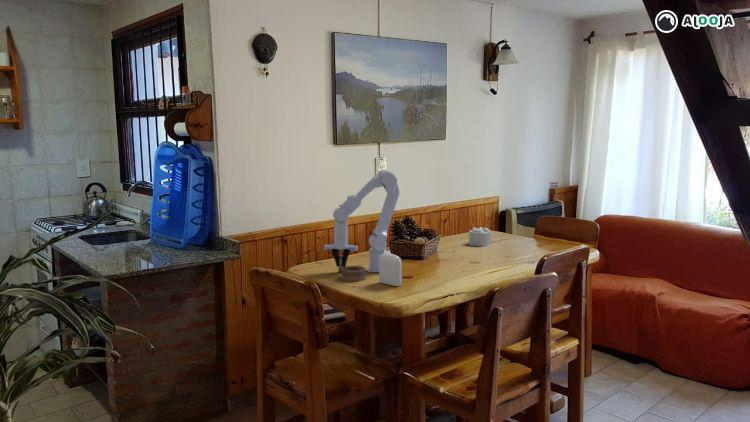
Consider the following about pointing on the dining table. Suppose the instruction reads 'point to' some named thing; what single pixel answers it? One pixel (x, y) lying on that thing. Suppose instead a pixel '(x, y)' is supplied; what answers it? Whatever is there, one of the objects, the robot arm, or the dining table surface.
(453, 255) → the dining table surface
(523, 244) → the dining table surface
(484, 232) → the lumpy-topped squat cylinder
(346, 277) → the bead
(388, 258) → the white upright block
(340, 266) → the dark grey capsule
